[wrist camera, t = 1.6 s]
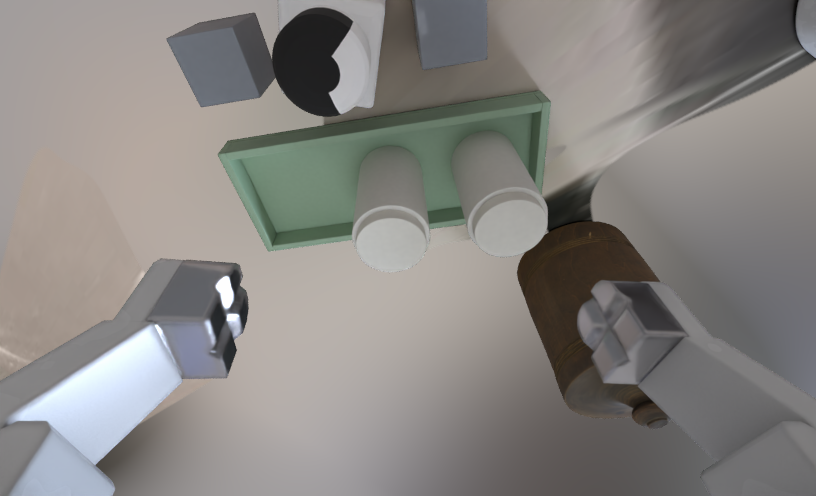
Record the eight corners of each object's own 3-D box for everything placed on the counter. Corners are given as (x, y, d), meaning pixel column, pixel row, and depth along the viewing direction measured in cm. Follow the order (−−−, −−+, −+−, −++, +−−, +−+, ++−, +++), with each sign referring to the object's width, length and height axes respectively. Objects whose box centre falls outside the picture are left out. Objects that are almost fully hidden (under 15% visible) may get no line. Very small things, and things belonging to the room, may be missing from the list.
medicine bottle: (297, 68, 34) (263, 119, 25) (296, -28, 29) (255, -8, 20) (375, 82, 35) (370, 136, 26) (386, -8, 30) (385, 18, 21)
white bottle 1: (417, 140, 38) (426, 208, 29) (425, 196, 43) (435, 270, 33) (352, 150, 39) (341, 220, 29) (366, 204, 43) (360, 280, 34)
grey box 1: (255, 12, 31) (232, 26, 26) (277, 75, 34) (260, 97, 30) (198, 22, 31) (165, 38, 27) (225, 84, 35) (200, 107, 30)
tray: (540, 90, 36) (551, 101, 34) (531, 198, 44) (539, 214, 42) (227, 140, 38) (216, 154, 36) (274, 235, 46) (268, 251, 44)
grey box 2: (471, -28, 30) (486, -20, 25) (473, 41, 33) (487, 59, 28) (409, -17, 30) (413, -7, 26) (417, 51, 33) (422, 70, 29)
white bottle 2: (516, 125, 38) (557, 189, 28) (513, 183, 42) (548, 255, 33) (448, 135, 38) (467, 202, 29) (453, 192, 42) (471, 265, 33)
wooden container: (556, 312, 58) (624, 466, 41) (495, 269, 51) (546, 432, 35) (647, 257, 51) (773, 416, 34) (590, 199, 44) (711, 361, 28)
